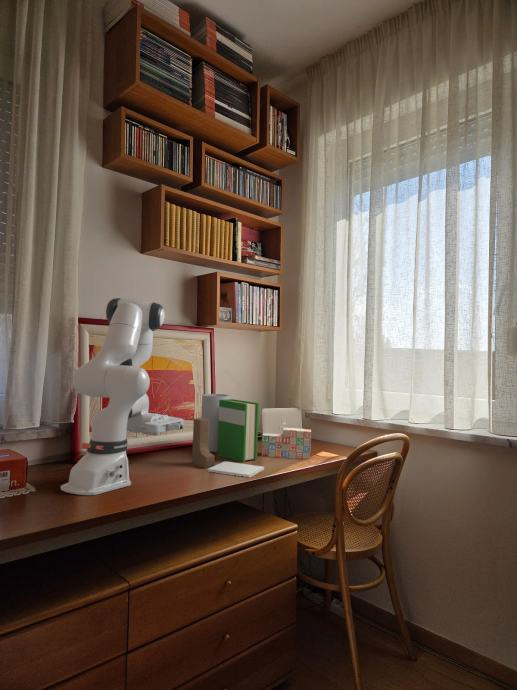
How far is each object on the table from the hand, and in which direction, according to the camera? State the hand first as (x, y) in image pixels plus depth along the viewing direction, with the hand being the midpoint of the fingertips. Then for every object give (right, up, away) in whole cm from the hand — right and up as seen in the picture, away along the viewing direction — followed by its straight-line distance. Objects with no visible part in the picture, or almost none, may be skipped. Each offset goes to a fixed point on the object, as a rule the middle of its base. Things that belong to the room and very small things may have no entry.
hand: (181, 427), depth 184 cm
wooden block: (+9, -14, -4) cm, 18 cm away
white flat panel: (+23, -15, -10) cm, 29 cm away
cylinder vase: (+10, -15, +27) cm, 32 cm away
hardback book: (+22, -15, +12) cm, 29 cm away
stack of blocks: (+43, -16, +18) cm, 49 cm away
